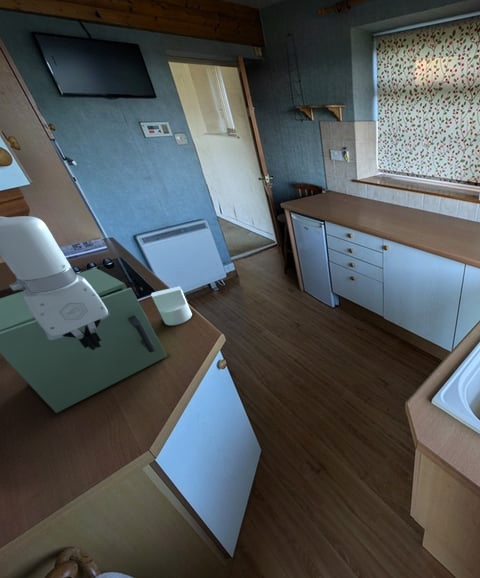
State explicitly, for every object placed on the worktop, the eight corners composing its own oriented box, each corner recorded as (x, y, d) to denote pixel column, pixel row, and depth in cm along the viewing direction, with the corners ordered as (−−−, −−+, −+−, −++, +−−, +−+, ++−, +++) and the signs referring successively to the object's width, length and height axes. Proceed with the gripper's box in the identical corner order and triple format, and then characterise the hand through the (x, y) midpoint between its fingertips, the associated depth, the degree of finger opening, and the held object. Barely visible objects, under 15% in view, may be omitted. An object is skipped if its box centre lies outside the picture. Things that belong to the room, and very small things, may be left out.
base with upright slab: (164, 328, 105) (150, 301, 99) (164, 315, 112) (151, 289, 105) (192, 320, 110) (181, 293, 103) (190, 308, 116) (180, 282, 110)
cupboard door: (174, 364, 91) (139, 295, 77) (61, 426, 73) (-11, 350, 59) (165, 355, 94) (130, 287, 80) (55, 411, 76) (-14, 336, 63)
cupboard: (160, 351, 96) (124, 283, 82) (55, 411, 77) (-16, 336, 63) (132, 332, 103) (95, 267, 90) (30, 383, 84) (-37, 310, 70)
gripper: (1, 302, 52) (58, 373, 62) (103, 269, 63) (138, 334, 73) (-12, 290, 55) (44, 359, 65) (87, 260, 66) (123, 324, 76)
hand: (94, 346), depth 69 cm, fingers closed
